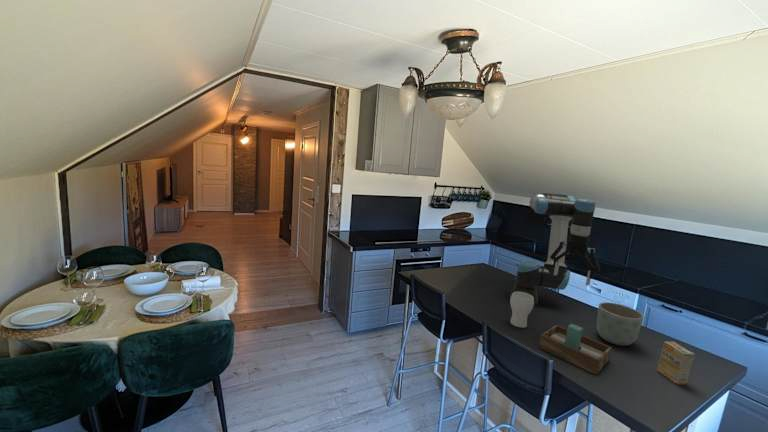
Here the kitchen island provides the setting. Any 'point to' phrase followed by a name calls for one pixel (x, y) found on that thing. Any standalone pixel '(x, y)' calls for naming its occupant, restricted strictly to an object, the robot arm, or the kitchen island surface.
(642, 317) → the planter
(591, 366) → the crate
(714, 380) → the kitchen island surface
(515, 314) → the cup
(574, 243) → the robot arm
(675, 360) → the supplement box
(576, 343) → the peg
